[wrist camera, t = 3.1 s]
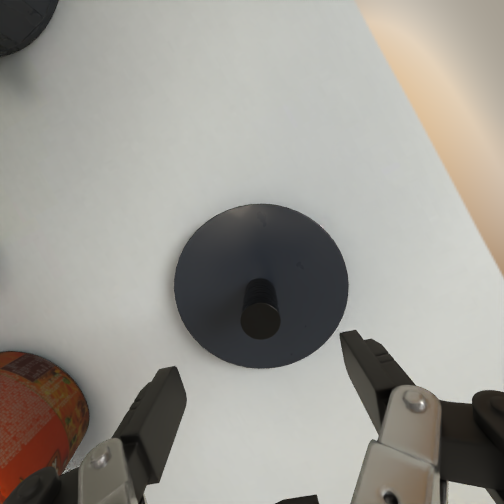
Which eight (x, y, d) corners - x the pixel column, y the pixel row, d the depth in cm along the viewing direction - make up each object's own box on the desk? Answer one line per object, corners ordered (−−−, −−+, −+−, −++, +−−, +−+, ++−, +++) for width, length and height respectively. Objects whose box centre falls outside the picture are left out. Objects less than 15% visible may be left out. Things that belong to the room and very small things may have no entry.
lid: (328, 184, 20) (357, 178, 14) (355, 343, 23) (390, 396, 17) (156, 226, 21) (115, 238, 15) (204, 373, 24) (185, 432, 18)
